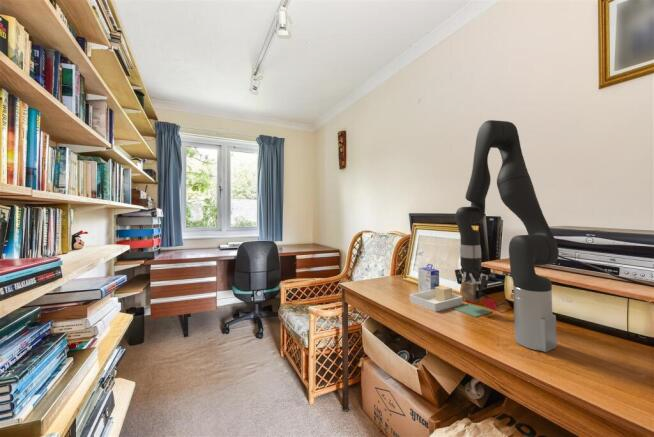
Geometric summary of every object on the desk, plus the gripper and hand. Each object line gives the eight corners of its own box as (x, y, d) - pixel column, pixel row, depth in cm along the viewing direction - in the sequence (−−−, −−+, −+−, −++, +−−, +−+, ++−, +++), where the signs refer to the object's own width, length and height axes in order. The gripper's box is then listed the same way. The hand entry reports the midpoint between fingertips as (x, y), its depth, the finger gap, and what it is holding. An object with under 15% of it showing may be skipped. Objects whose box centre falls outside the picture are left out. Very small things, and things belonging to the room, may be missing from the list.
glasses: (463, 303, 118) (463, 292, 117) (485, 296, 125) (485, 286, 125) (496, 313, 105) (495, 300, 105) (518, 304, 113) (518, 293, 113)
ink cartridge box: (440, 294, 129) (439, 265, 129) (431, 296, 127) (430, 266, 127) (426, 289, 138) (425, 262, 138) (418, 291, 137) (417, 263, 136)
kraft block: (452, 301, 119) (451, 288, 118) (444, 303, 116) (443, 289, 116) (443, 298, 123) (442, 285, 123) (435, 300, 121) (434, 287, 121)
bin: (462, 304, 115) (462, 296, 115) (435, 312, 108) (434, 303, 107) (436, 295, 128) (435, 288, 128) (409, 302, 121) (409, 294, 121)
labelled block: (481, 299, 106) (481, 282, 106) (473, 302, 104) (473, 284, 104) (470, 296, 111) (470, 279, 110) (462, 298, 108) (461, 281, 108)
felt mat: (492, 312, 105) (492, 311, 105) (475, 317, 101) (475, 316, 100) (469, 305, 114) (469, 303, 114) (453, 309, 110) (452, 308, 110)
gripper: (494, 257, 102) (495, 300, 102) (461, 252, 115) (462, 291, 115) (481, 259, 99) (482, 304, 99) (449, 254, 112) (450, 294, 112)
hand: (471, 296), depth 107 cm, fingers closed on labelled block, 5 cm apart
